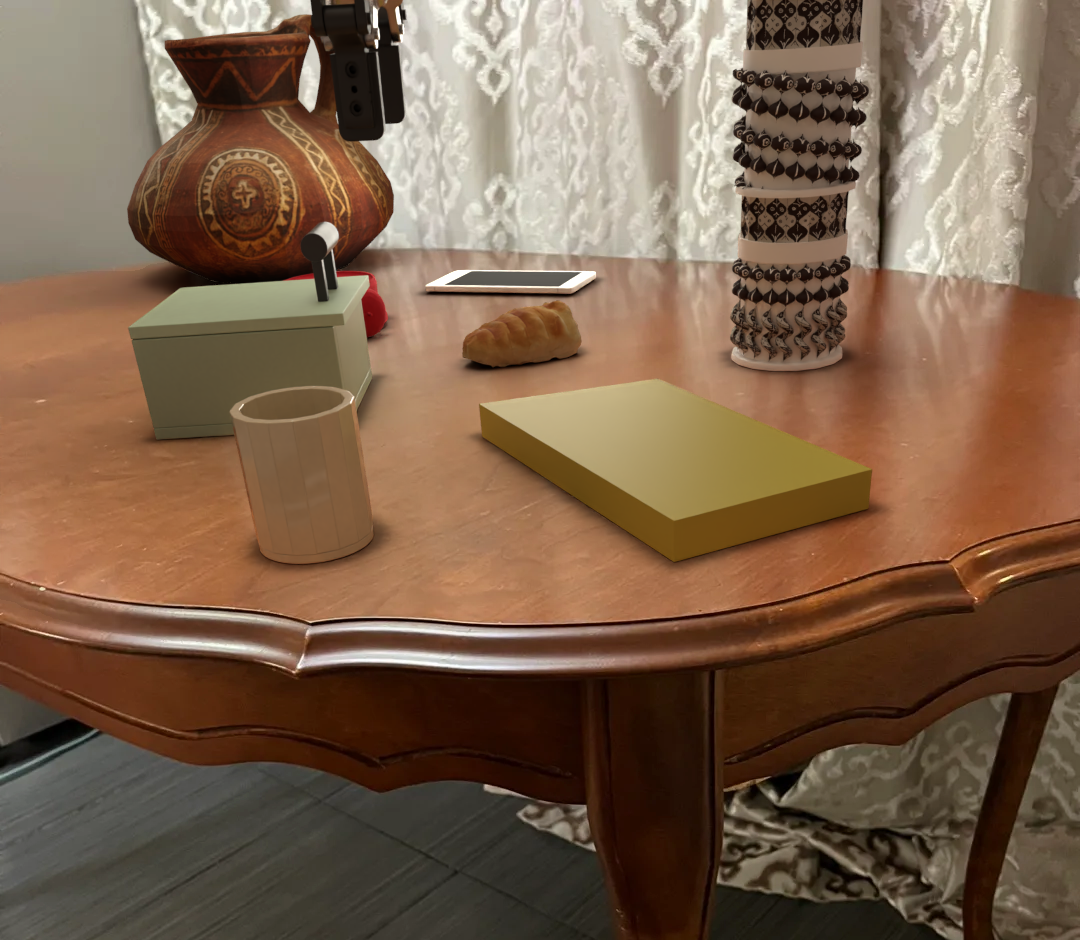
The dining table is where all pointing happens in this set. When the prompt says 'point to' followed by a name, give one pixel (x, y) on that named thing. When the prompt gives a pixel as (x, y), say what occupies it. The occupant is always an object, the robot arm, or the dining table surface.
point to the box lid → (262, 300)
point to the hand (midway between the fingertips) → (375, 131)
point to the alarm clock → (364, 302)
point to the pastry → (525, 336)
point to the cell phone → (512, 281)
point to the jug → (256, 164)
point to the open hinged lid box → (244, 371)
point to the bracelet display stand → (795, 180)
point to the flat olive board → (676, 464)
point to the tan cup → (304, 473)
